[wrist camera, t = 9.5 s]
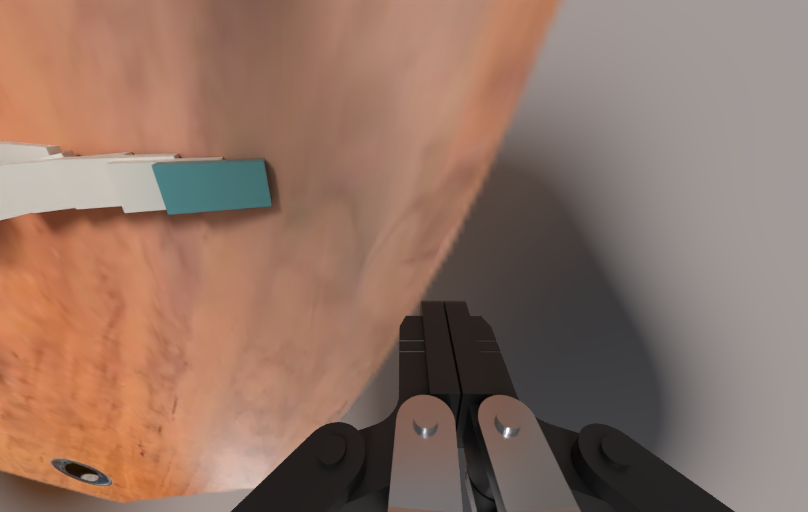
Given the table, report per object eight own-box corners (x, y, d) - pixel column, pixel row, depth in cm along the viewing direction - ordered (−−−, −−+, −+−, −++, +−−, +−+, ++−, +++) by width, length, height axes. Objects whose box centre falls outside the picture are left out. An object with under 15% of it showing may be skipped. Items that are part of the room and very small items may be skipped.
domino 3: (150, 194, 37) (45, 207, 34) (131, 151, 34) (16, 162, 31) (144, 199, 35) (33, 213, 32) (123, 154, 33) (1, 165, 30)
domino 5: (233, 199, 37) (131, 207, 33) (223, 156, 34) (113, 160, 31) (231, 204, 35) (124, 213, 32) (220, 159, 33) (104, 163, 29)
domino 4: (191, 196, 37) (85, 204, 33) (178, 153, 34) (63, 156, 31) (187, 200, 35) (76, 209, 32) (173, 156, 33) (52, 160, 29)
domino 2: (103, 192, 37) (5, 216, 35) (72, 150, 34) (-35, 174, 32) (94, 196, 35) (-9, 222, 33) (61, 153, 32) (-53, 178, 31)
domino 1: (82, 187, 37) (1, 181, 37) (64, 145, 35) (-22, 138, 35) (65, 192, 35) (-20, 185, 36) (45, 147, 33) (-45, 139, 33)
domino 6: (271, 201, 36) (173, 209, 33) (263, 158, 34) (157, 161, 31) (271, 206, 35) (168, 214, 31) (263, 161, 33) (151, 165, 29)
